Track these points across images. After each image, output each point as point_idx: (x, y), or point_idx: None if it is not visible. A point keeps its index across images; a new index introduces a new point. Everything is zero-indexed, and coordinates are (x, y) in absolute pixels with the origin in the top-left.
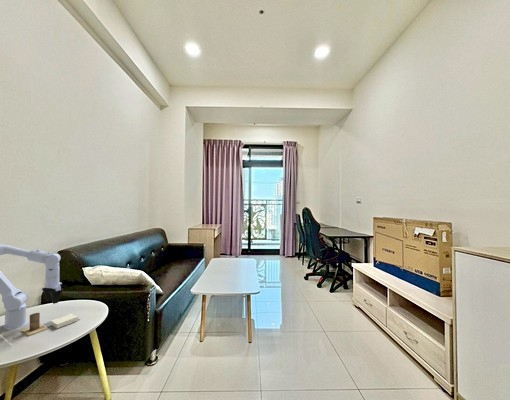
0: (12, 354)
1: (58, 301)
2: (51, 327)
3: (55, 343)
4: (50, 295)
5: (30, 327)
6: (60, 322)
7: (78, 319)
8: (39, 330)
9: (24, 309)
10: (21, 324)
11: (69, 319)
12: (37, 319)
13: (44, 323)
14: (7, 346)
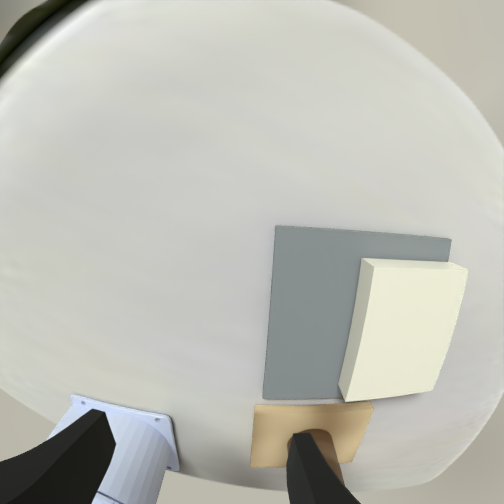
0: (412, 477)
1: (312, 440)
2: None
3: (492, 393)
4: (80, 463)
5: None
6: (433, 372)
7: (433, 245)
8: (359, 434)
9: (133, 499)
10: (165, 445)
11: (451, 323)
12: (343, 482)
13: (263, 391)
14: None
